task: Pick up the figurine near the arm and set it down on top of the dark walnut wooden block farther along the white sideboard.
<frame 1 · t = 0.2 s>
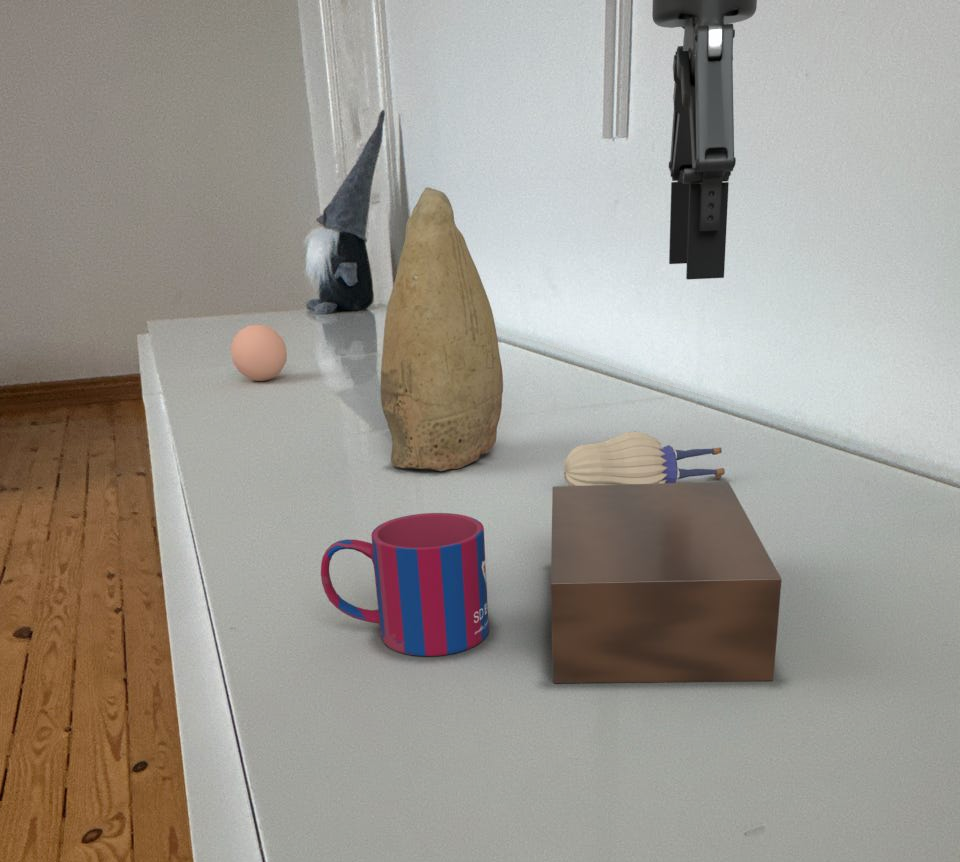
hand: (694, 270, 81), 18 cm above the sideboard, tool pointing down, fingers open, 13 cm apart
toy ball: (263, 382, 147), on the sideboard
walnut block: (648, 616, 63), on the sideboard
mug: (409, 636, 63), on the sideboard
sculpture: (446, 461, 101), on the sideboard
figurine: (646, 493, 87), on the sideboard
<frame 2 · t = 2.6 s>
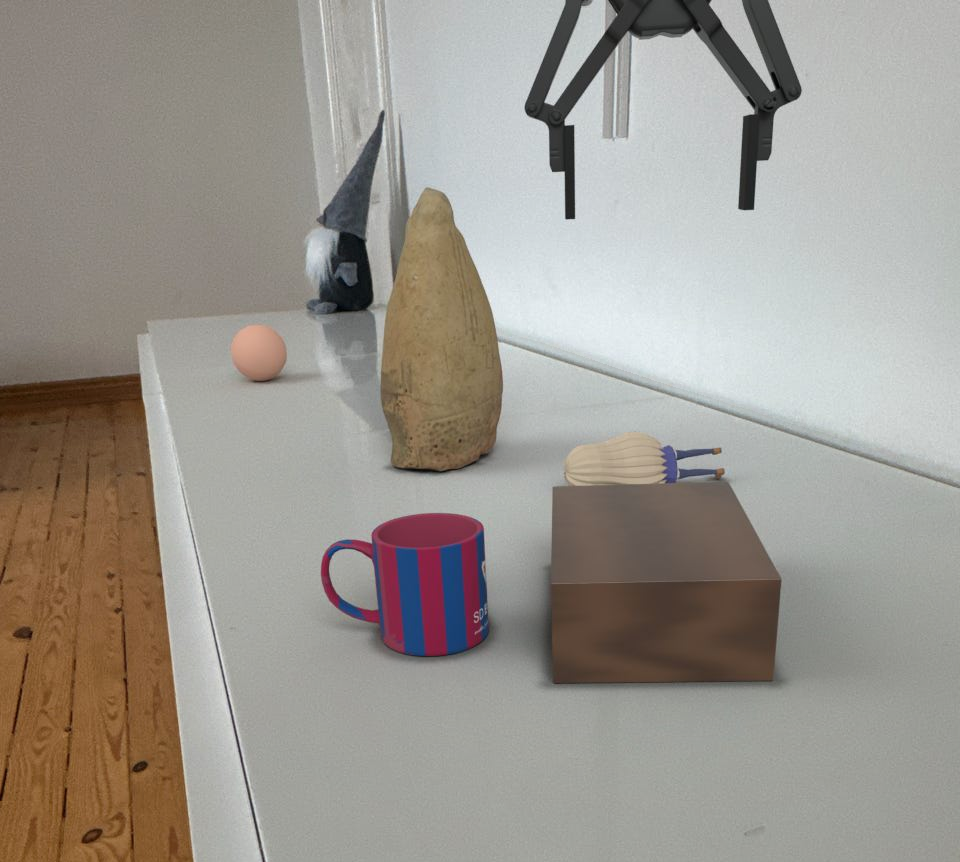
hand: (657, 214, 78), 22 cm above the sideboard, tool pointing down, fingers open, 13 cm apart
nothing on the sideboard moved.
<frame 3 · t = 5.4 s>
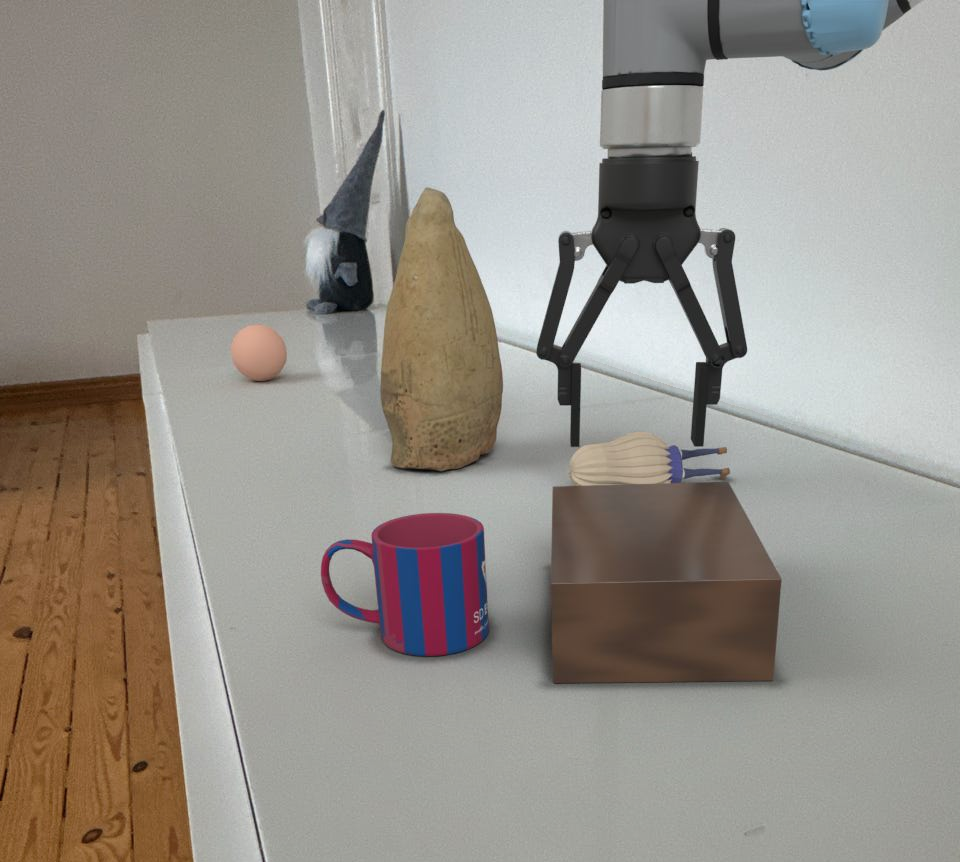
hand: (635, 442, 86), 4 cm above the sideboard, tool pointing down, fingers open, 10 cm apart
figurine: (651, 493, 87), on the sideboard, touching gripper
everything else where it was.
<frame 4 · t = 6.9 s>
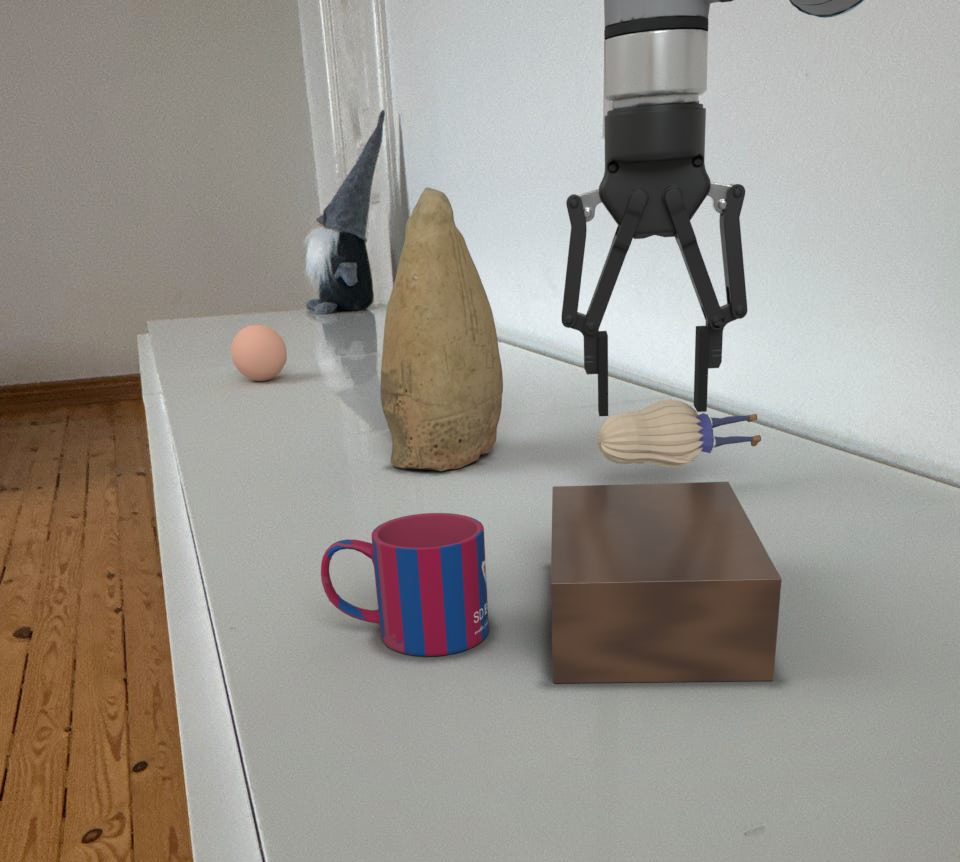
hand: (651, 410, 84), 7 cm above the sideboard, tool pointing down, fingers closed on figurine, 7 cm apart
figurine: (682, 462, 86), point 3 cm above the sideboard, touching gripper
everything else where it was.
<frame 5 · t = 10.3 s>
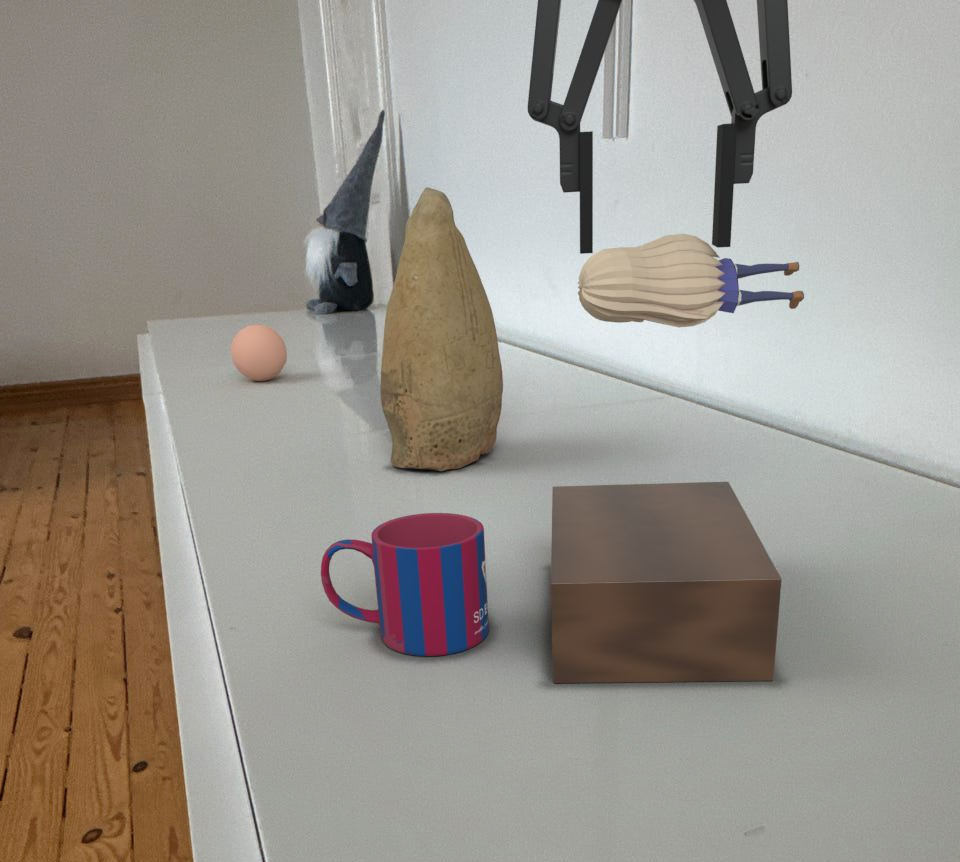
hand: (653, 248, 60), 21 cm above the sideboard, tool pointing down, fingers closed on figurine, 7 cm apart
figurine: (695, 325, 62), point 17 cm above the sideboard, touching gripper
everything else where it was.
when the fingers open (11 cm above the sideboard, at t = 14.2 s): figurine stays where it is, resting on walnut block.
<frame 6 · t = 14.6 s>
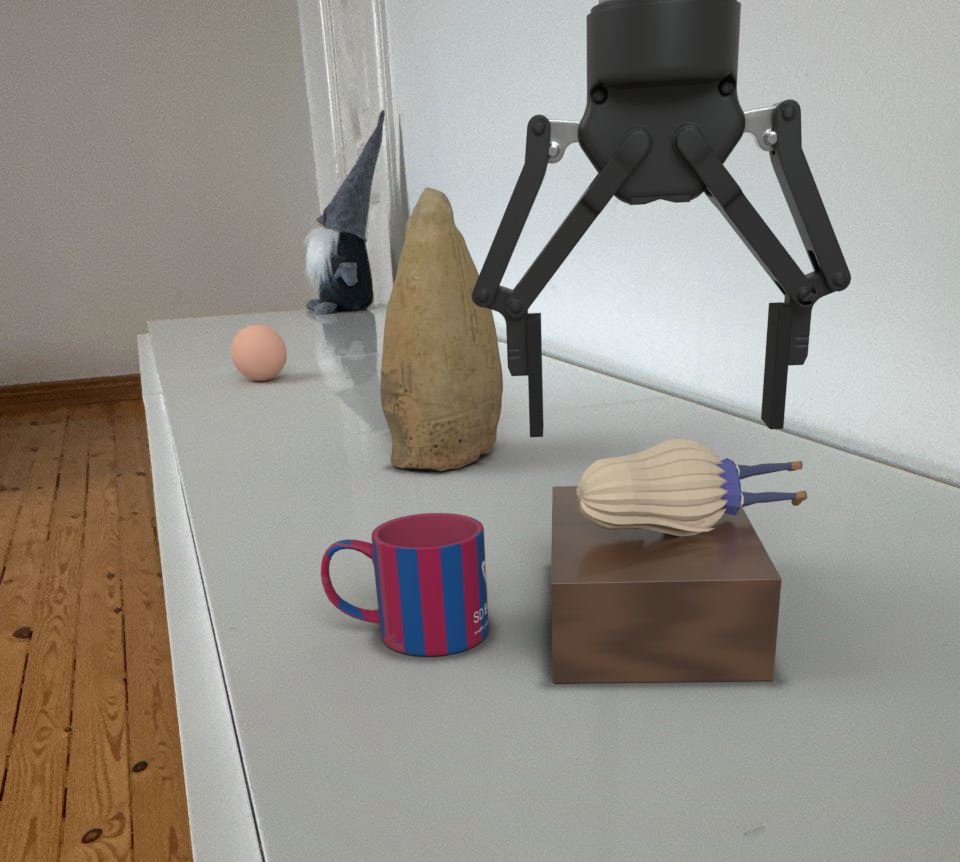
hand: (653, 428, 58), 12 cm above the sideboard, tool pointing down, fingers open, 13 cm apart
figurine: (696, 528, 60), point 6 cm above the sideboard, touching walnut block
everything else where it was.
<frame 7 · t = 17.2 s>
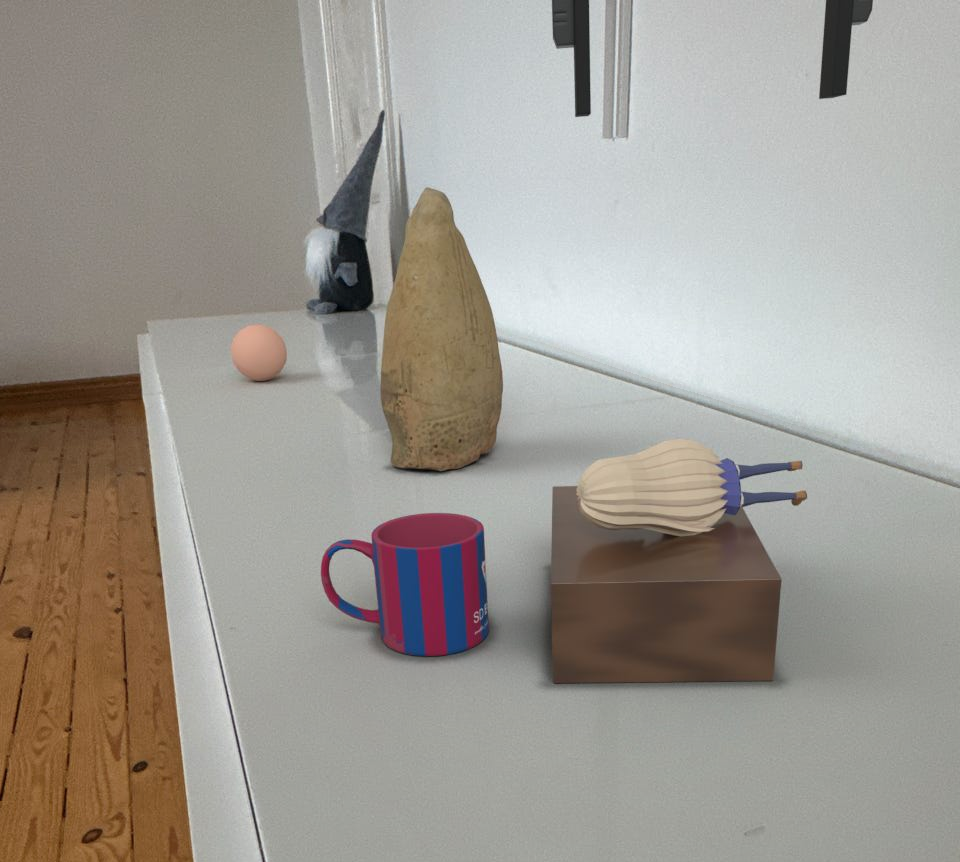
hand: (706, 107, 55), 29 cm above the sideboard, tool pointing down, fingers open, 13 cm apart
nothing on the sideboard moved.
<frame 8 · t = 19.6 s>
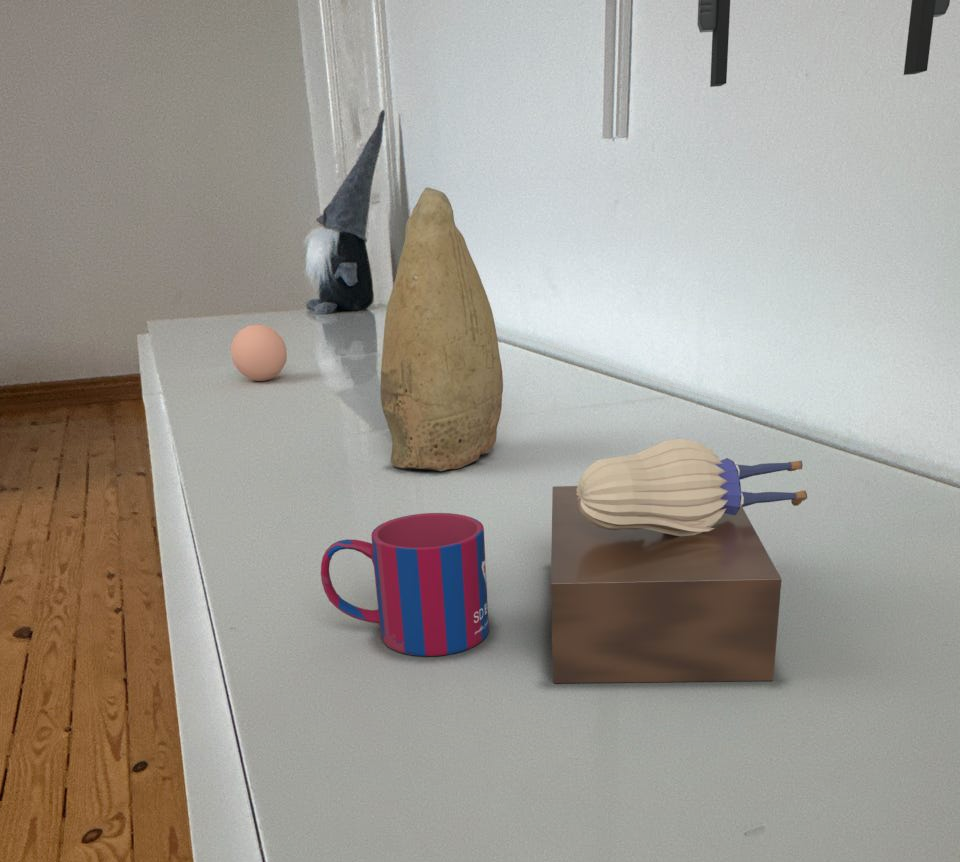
hand: (815, 79, 71), 31 cm above the sideboard, tool pointing down, fingers open, 13 cm apart
nothing on the sideboard moved.
at the end: figurine inside the target area on the walnut block (2.7 cm from its centre), point 5.8 cm above the walnut block's base; figurine touching walnut block; the gripper is holding nothing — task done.
